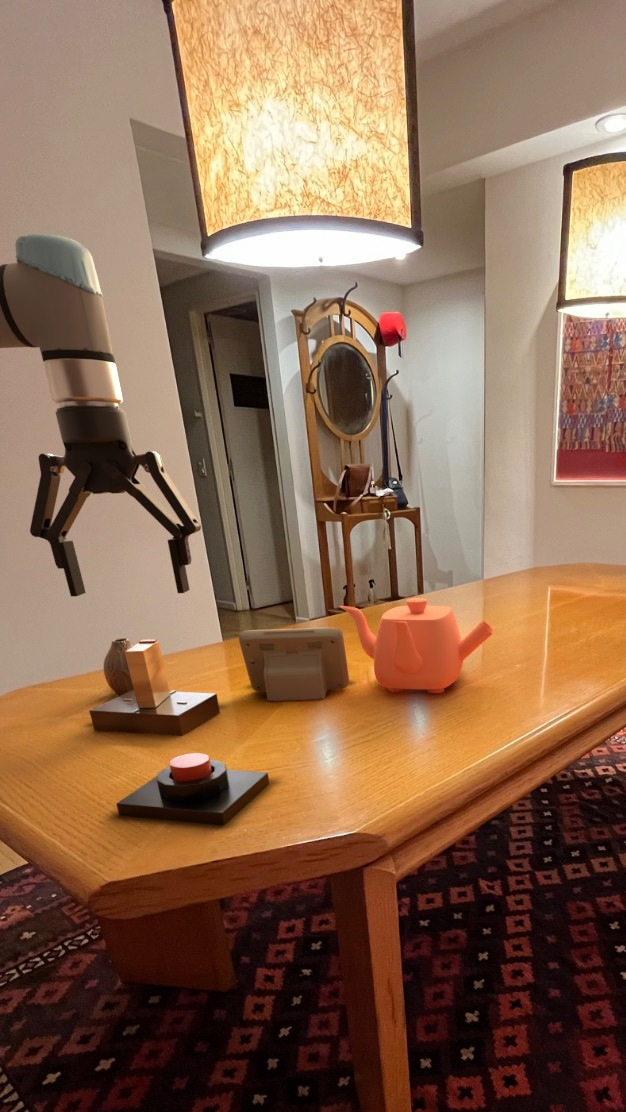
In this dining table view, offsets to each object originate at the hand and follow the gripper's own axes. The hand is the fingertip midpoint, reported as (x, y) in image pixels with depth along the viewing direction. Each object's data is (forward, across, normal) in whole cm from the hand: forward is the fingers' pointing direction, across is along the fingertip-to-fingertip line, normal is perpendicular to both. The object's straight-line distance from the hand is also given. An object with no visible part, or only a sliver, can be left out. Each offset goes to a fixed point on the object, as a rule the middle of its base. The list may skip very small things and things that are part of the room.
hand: (131, 593), depth 88 cm
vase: (+19, +10, -17) cm, 27 cm away
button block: (+18, -13, +27) cm, 35 cm away
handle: (+15, +1, -2) cm, 15 cm away
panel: (+18, +1, -2) cm, 19 cm away
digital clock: (+18, -18, -13) cm, 29 cm away
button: (+15, -13, +27) cm, 33 cm away
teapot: (+18, -37, -15) cm, 44 cm away
